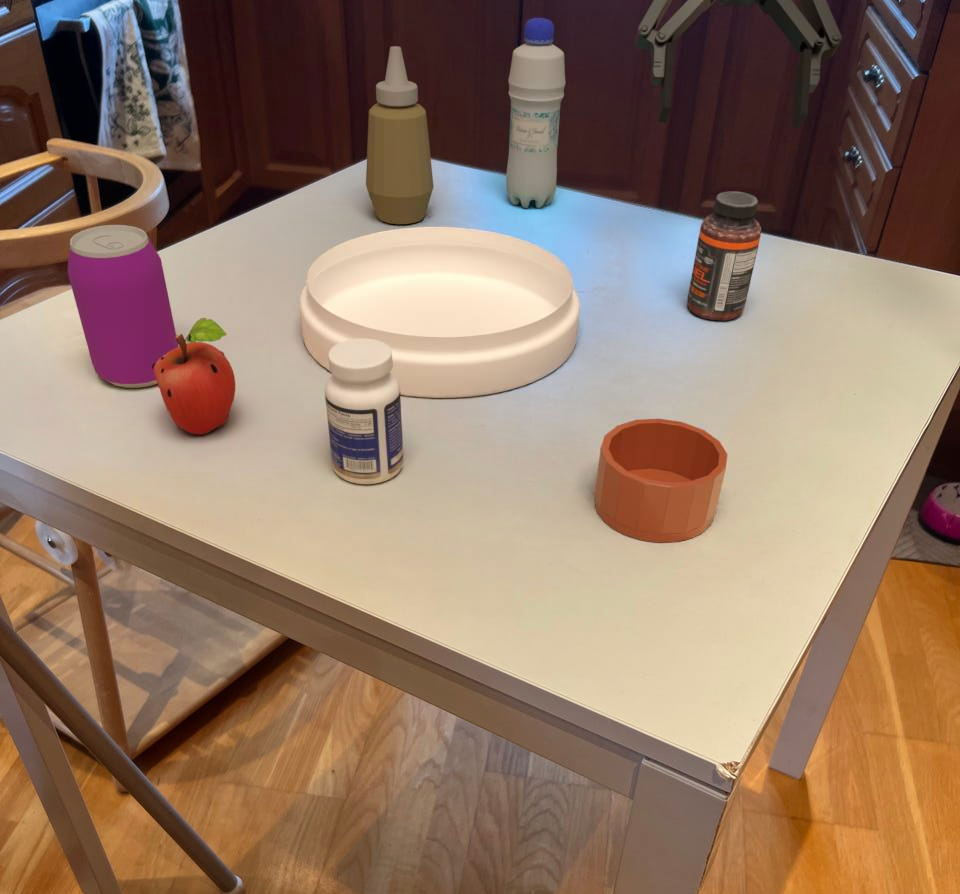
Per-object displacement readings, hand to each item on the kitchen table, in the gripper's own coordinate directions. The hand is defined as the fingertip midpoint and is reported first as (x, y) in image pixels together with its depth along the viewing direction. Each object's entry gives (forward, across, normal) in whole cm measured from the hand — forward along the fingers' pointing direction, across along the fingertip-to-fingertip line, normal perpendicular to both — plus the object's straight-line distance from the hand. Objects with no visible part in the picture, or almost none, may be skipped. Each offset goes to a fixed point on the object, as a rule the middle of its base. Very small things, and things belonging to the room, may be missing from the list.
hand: (732, 118), depth 98 cm
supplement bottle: (+18, 0, -4) cm, 19 cm away
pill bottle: (+41, +32, +20) cm, 55 cm away
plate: (+24, +28, +2) cm, 37 cm away
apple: (+37, +46, +16) cm, 62 cm away
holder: (+43, +9, +23) cm, 49 cm away
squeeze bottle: (+3, +35, -20) cm, 41 cm away
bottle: (-2, +20, -25) cm, 32 cm away
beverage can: (+31, +55, +10) cm, 64 cm away
